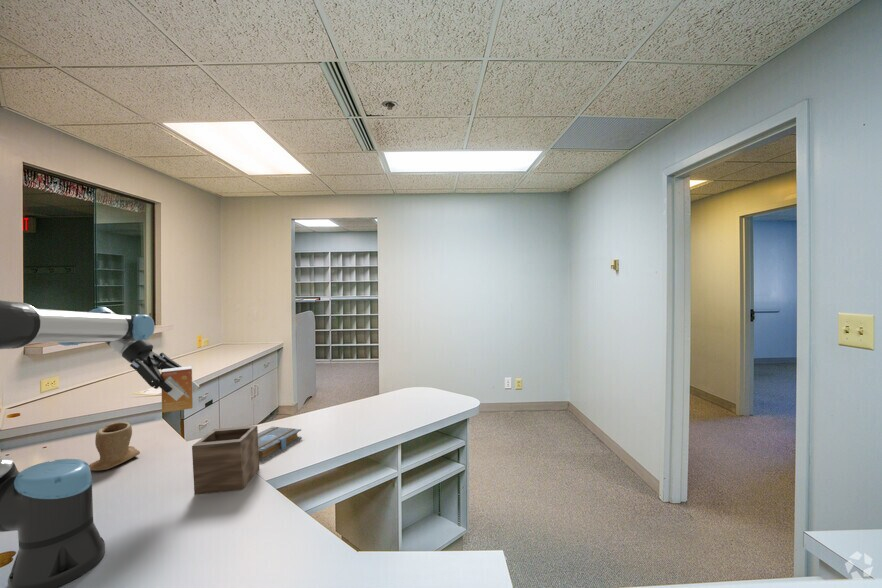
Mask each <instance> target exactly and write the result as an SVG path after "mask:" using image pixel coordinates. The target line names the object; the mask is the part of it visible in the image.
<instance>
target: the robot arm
mask: <svg viewBox="0 0 882 588" xmlns="http://www.w3.org/2000/svg"><path fill="white" fill-rule="evenodd" d="M154 332H155V321H154V319H153V318H152V316H150V315H148V314H138V313H136V314H118V313H115V312H114V311H112V310H111V309H110V308H107V307H105V306H99V307H97V308H94V309H91V310H89V311H77V310H76V311H75V310H63V309H62V310H60V309H47V308H36V307H34V306H32V305H31V304H29V303H26V302H17V301H15V302H14V301H9V300H7V301H6V300H0V350H10V349H11V350H13V349H19V348H20V349H21V348H23V347H26V346H29V345H30V344H51V343H52V344H54V343H57V344H59V345H60V346H65V347H66V346H68V347H69V346H78V345H82V344H92V343H95V344H96V343H106V344H107V345H108V346H109V347H111V348H112V349H113V352H117V353H118V354H119V355H121V357H122V358H124V359H125V361H127V362H128V363H129V367H130V368H132V369H133V370H135V371H136V372H137V373H138V374H139V376H140V377H141V378H142V379H143V380H144V381H145V382H146V383H147V384H148V385H149V386H150V387H152V388H154V390H158V388H161V389H160V390H162V389H163V390H164V391H165V392H166V393H167V394H169V395H170V396H171V397H172V398H173V399H175V400H176V401H177V400H178V399H179V398H180V397H181V396H182V395H183V394H184V393H183V392H181V391H180V390H179V389H178V388H177V387H175V386H174V385H173V384H172V383H171V382H169V381H168V380H166V381H165V380H164V378H163V376H162V375H161V372H160V370H161V371H162V369H169V368H177V367H183V366H182V365H180V364H179V363H177V362H176V361H174V360H173V359H171V358H170V357H169V356H167V354H165V353H164V352H161V353H159V354H157V353H155V352H154V351H153V349H154V345H153V344H152V343H151V342H149V341H148V339H150V338H151V337H152V336H153V334H154ZM164 381H165V382H164ZM199 388H200V385H199V384H198V383H197V382H195V380H193V379H192V390H193V393H195V392H196V391H197V390H198V389H199ZM89 465H90V464H89V463H87V462H86V461H85V460H82V459H76V458H61V459H55V460H53V461H43V462H41V463H37V464H34V465H31V466H29V467H26V468H25V469H23V470H21V471H19V470H18V468H17V465H16V464H15V463H14V460H13V459H12V457H9V456H0V533H5V532H15V531H17V537H18V551H17V554H16V557H15V559H14V562H13V565H12V567H11V571H10V573H9V576H8V578H7V588H59V587H62V586H63V585H66V584H68V583H70V582H72V581H74V580H75V579H77V578H80V577H81V576H82V575H84V574H86V573H88V572H89V571H90V570H92V569H93V568H94V567H96V566H97V565H98V564H99V563H100V562H101V560H103V558H104V556H105V554H106V542H105V540H104V539H103V537H101V534H100V533H99V531H98V529H97V527H96V525H95V521H94V509H93V508H94V504H93V476H92V472H91V470H90V467H89Z"/></svg>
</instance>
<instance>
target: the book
mask: <svg viewBox="0 0 882 588" xmlns="http://www.w3.org/2000/svg"><path fill="white" fill-rule="evenodd" d="M301 431H302V428H292V427H290V428H289V427H280V426H271V427H268V428H266V429H264V430H262V431H260V432H258V450H259V462H260V461H261V462H263V461H265V460H266V459H268V458H270V457H272V456H274V455H275V454H277V453H279V452H280V451H283V450H285V449H287V447H289V446H290V445H292V444H294V443H296V442H298V441H299V440H302V438H303V437H302V436H299V435H298V433H299V432H301Z"/></svg>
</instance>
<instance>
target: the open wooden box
mask: <svg viewBox="0 0 882 588" xmlns="http://www.w3.org/2000/svg"><path fill="white" fill-rule="evenodd" d="M258 429H259V428H258V425H247V426H238V427H237V426H235V427H224V428H214V429H213V430H212V431H210V432H208V433H207V434H206V435H205V436H203V437H202V438H200V439H198V441H196V442H195V443H194V444H193V445H191V451H192V454H191V455H192V457H191V458H192V472H193V491H194V492H193V493H194V496H195V495H204V494H212V493H223V492H225V493H226V492H233V491H241V490H242V491H243V490H244V488H245V487H246V486H247V485H248V483H249V482H250V481H251V480H252V478H253V477H254V476H255V474H256V473H257V472H258V470H260V461H259V450H258V433H259V430H258Z"/></svg>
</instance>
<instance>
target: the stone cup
mask: <svg viewBox="0 0 882 588" xmlns="http://www.w3.org/2000/svg"><path fill="white" fill-rule="evenodd" d="M132 435H133V428H132V425H131V423H129V422H126V421H116V422H112V423H108V424H107V425H105V426H103V427H102V428H99V429H98V431H96V433H95V441H94V443H95V448H96V449H97V452H98V455H99V459H98V460H95V461H94V462H92V463H90V464H88V465H89V467H90V471H95V472H96V471H97V472H98V471H106V470H109V469H110V470H111V468H114V467H117V466H119V465H121V464H123V463H125V462H127V461H129V460H131V459H133V458H136V456H139V455H141V451H140V450H139V449H137V448H136V447H135V446H133V445H130V444H131V443H130V442H131V438H132V437H133V436H132Z"/></svg>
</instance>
